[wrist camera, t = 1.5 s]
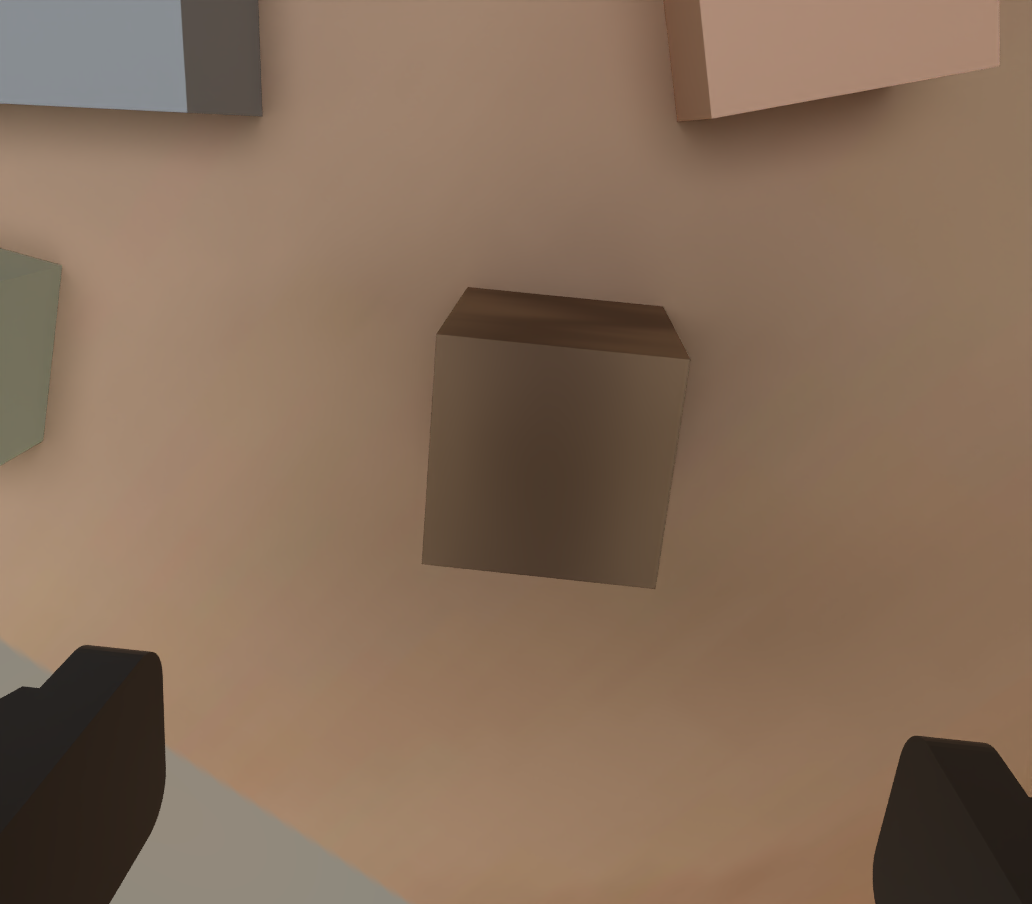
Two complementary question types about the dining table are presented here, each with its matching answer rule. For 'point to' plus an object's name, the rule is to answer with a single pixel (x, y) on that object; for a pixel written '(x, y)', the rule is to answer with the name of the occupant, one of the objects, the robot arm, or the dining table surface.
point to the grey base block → (132, 55)
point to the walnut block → (553, 437)
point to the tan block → (818, 48)
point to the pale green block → (25, 348)
